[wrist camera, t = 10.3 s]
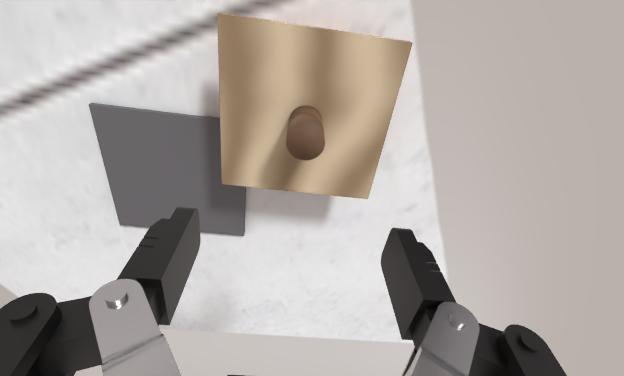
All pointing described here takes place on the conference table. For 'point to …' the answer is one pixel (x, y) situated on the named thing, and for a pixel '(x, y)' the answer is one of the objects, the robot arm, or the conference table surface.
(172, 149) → the rubber mat
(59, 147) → the conference table surface
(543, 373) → the robot arm
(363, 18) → the conference table surface
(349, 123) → the oak lid
